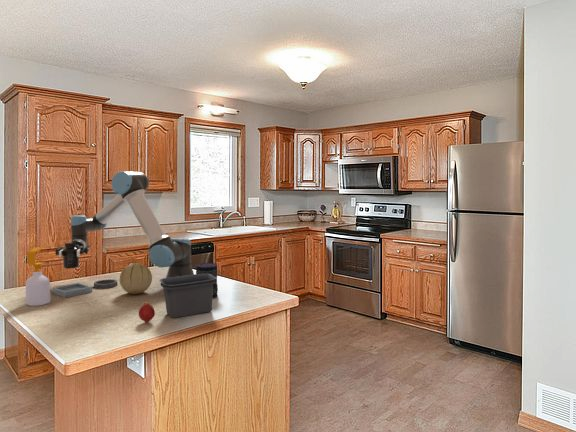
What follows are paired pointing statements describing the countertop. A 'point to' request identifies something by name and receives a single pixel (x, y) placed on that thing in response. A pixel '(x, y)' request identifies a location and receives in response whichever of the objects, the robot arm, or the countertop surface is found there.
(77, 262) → the supplement bottle
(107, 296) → the countertop surface
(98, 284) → the holster ring
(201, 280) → the storage bin
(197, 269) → the storage jar
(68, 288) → the tray
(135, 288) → the cantaloupe
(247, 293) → the countertop surface
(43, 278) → the soap bottle
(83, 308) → the countertop surface
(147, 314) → the pomegranate
